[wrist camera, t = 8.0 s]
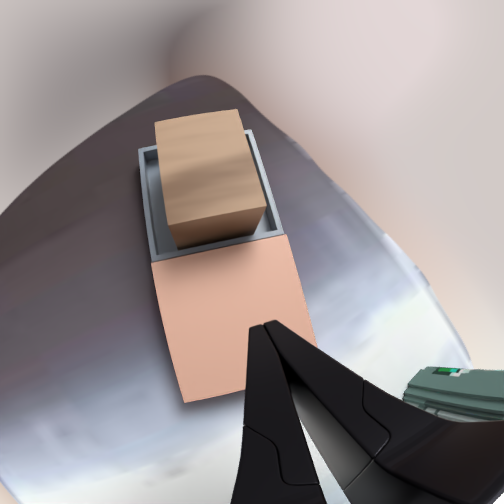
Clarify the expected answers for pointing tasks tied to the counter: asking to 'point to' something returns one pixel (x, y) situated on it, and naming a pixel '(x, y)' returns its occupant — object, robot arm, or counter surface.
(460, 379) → the can
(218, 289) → the thick peach slab
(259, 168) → the tray
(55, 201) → the counter surface
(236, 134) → the tan block
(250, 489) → the robot arm
